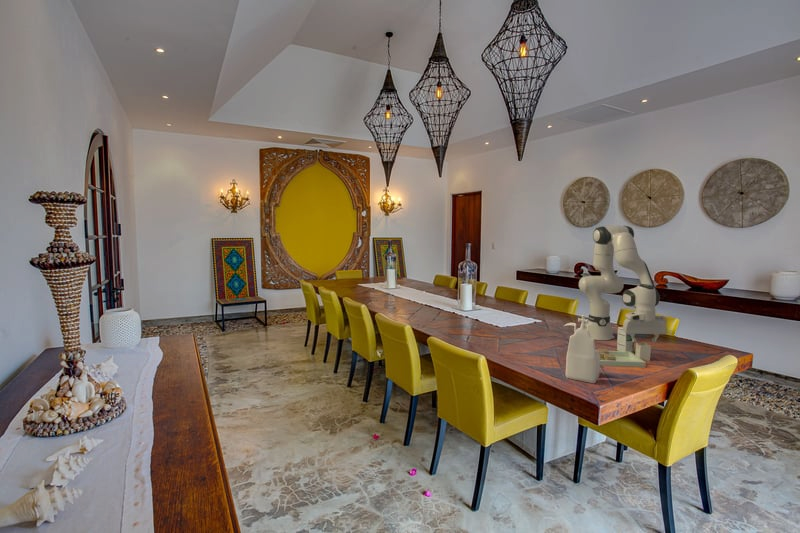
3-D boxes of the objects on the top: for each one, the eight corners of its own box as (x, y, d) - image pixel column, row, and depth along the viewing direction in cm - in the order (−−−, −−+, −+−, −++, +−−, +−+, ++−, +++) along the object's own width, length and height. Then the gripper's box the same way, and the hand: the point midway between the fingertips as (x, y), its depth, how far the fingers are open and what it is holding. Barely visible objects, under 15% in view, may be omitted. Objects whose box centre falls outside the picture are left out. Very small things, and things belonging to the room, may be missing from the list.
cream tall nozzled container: (600, 376, 186) (604, 312, 183) (596, 385, 175) (599, 317, 172) (562, 368, 196) (564, 308, 193) (555, 376, 185) (557, 312, 182)
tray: (586, 356, 213) (586, 350, 212) (629, 358, 210) (630, 351, 210) (597, 367, 196) (598, 360, 196) (645, 369, 193) (645, 362, 193)
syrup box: (625, 355, 215) (626, 329, 213) (616, 352, 220) (617, 326, 219) (633, 354, 216) (635, 328, 215) (624, 351, 222) (626, 325, 220)
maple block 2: (594, 358, 206) (594, 351, 205) (602, 358, 205) (603, 351, 205) (597, 361, 202) (597, 353, 202) (605, 361, 201) (606, 353, 201)
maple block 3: (604, 361, 201) (604, 354, 201) (612, 362, 201) (612, 354, 200) (607, 364, 197) (607, 356, 197) (615, 364, 197) (616, 356, 196)
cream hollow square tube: (635, 357, 211) (636, 342, 211) (645, 357, 211) (646, 342, 210) (639, 360, 206) (640, 345, 206) (649, 360, 206) (650, 345, 205)
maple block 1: (597, 356, 210) (597, 348, 210) (605, 356, 209) (605, 348, 209) (600, 358, 206) (600, 351, 206) (608, 358, 205) (608, 351, 205)
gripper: (663, 315, 208) (662, 341, 209) (622, 314, 211) (621, 339, 212) (670, 317, 202) (668, 344, 203) (627, 316, 204) (626, 343, 205)
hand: (644, 342), depth 207 cm, fingers open, 8 cm apart
